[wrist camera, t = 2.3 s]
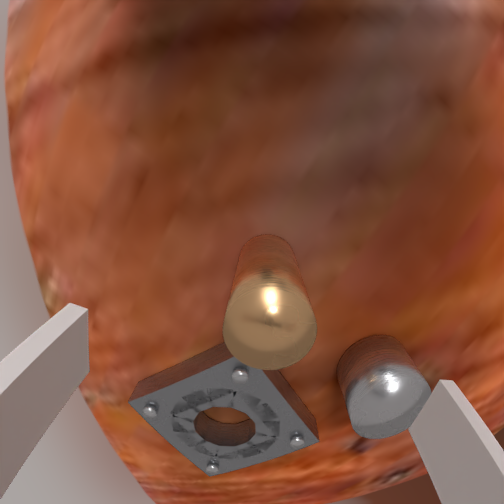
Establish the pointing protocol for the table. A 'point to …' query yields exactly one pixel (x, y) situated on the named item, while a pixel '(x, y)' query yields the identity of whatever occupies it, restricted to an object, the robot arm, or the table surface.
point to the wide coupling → (381, 387)
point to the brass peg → (268, 307)
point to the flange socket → (224, 395)
